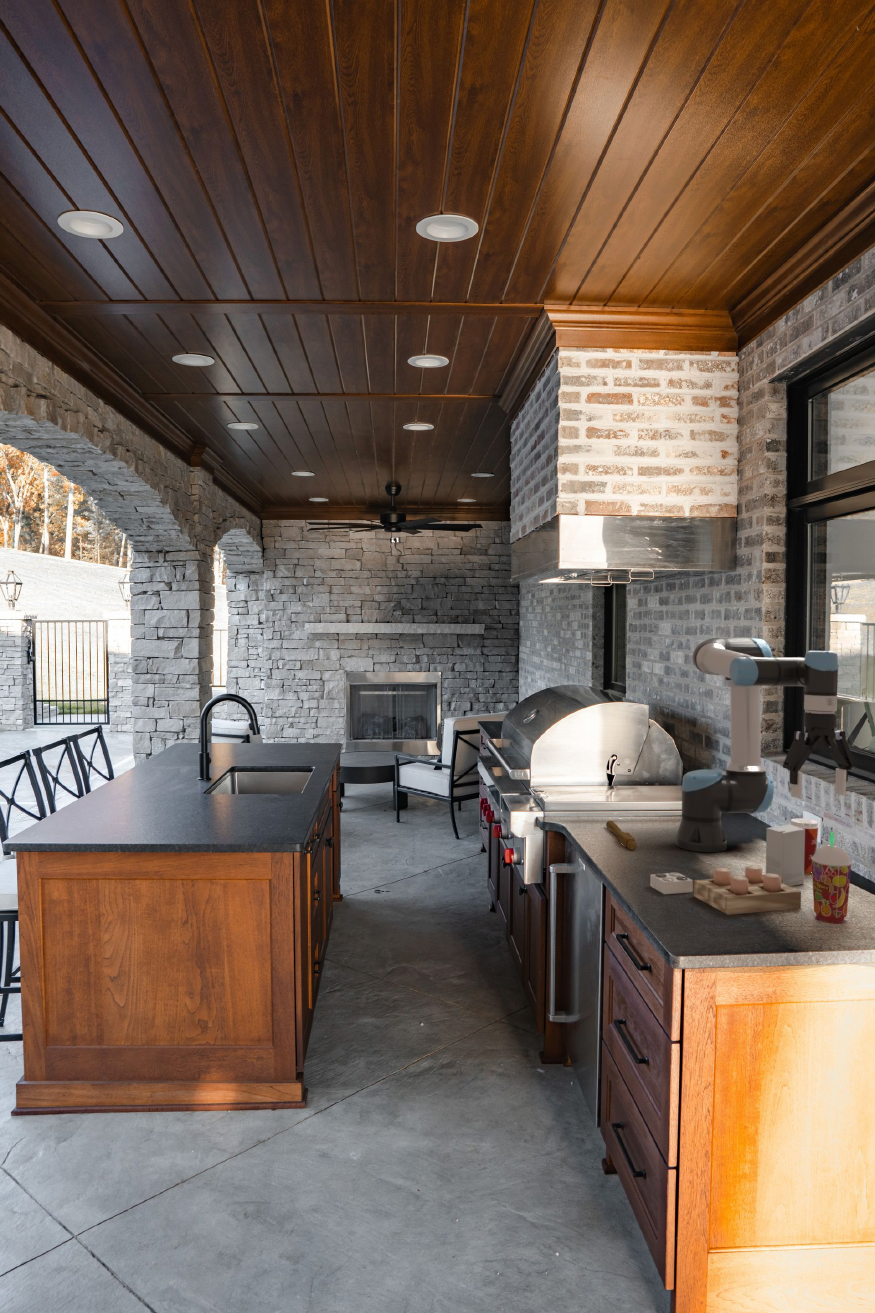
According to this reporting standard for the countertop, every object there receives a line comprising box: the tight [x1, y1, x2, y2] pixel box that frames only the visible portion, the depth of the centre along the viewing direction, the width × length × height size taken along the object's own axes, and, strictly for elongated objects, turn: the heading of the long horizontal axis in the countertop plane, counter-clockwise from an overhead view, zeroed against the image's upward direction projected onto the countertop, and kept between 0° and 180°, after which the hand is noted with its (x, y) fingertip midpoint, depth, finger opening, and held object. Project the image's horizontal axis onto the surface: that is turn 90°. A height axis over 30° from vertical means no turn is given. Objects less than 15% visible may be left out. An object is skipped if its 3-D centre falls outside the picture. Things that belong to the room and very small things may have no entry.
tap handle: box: [605, 820, 638, 851], centre depth 262 cm, size 3×3×30 cm
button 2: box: [730, 875, 749, 895], centre depth 195 cm, size 4×4×4 cm
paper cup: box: [788, 817, 820, 874], centre depth 227 cm, size 8×8×14 cm
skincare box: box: [765, 824, 805, 887], centre depth 215 cm, size 8×6×15 cm
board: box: [693, 874, 802, 916], centre depth 199 cm, size 14×20×4 cm
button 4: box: [762, 873, 781, 893], centre depth 197 cm, size 4×4×4 cm
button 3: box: [744, 865, 763, 884], centre depth 204 cm, size 4×4×4 cm
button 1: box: [712, 867, 732, 886], centre depth 202 cm, size 4×4×4 cm
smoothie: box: [811, 832, 853, 924], centre depth 188 cm, size 8×8×20 cm
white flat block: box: [649, 871, 694, 895], centre depth 209 cm, size 7×8×3 cm
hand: (818, 796), depth 206 cm, fingers open, 13 cm apart
